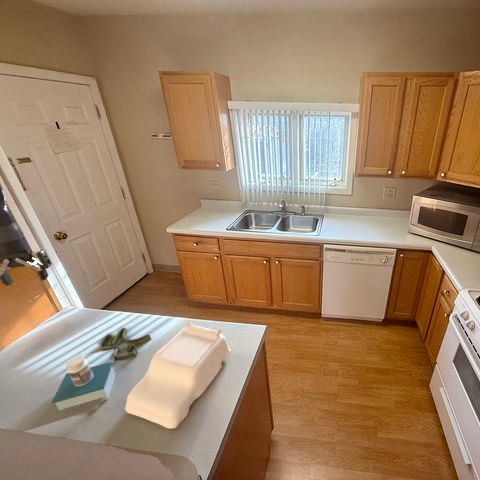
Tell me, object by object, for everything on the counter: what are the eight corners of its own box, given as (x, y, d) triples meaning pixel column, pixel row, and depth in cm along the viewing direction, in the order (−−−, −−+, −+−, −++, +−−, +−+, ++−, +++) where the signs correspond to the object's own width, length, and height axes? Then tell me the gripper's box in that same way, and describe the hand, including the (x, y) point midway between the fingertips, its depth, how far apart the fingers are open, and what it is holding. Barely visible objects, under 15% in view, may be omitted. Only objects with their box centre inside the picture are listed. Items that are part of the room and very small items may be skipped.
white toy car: (234, 352, 98) (231, 325, 93) (175, 434, 72) (165, 403, 66) (193, 341, 103) (187, 314, 97) (122, 413, 76) (109, 383, 71)
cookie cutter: (155, 339, 102) (154, 336, 102) (128, 363, 92) (126, 359, 91) (121, 329, 107) (119, 326, 106) (90, 351, 96) (89, 347, 95)
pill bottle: (70, 384, 78) (59, 365, 74) (86, 371, 82) (77, 352, 78) (82, 388, 77) (72, 369, 73) (97, 375, 81) (89, 356, 77)
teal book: (59, 415, 75) (51, 401, 73) (72, 386, 83) (66, 373, 81) (109, 399, 80) (103, 387, 77) (117, 373, 88) (112, 361, 86)
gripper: (-38, 245, 72) (-10, 292, 79) (30, 239, 78) (50, 283, 84) (-20, 235, 78) (4, 280, 85) (42, 230, 84) (60, 272, 91)
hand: (27, 281), depth 85 cm, fingers open, 8 cm apart
